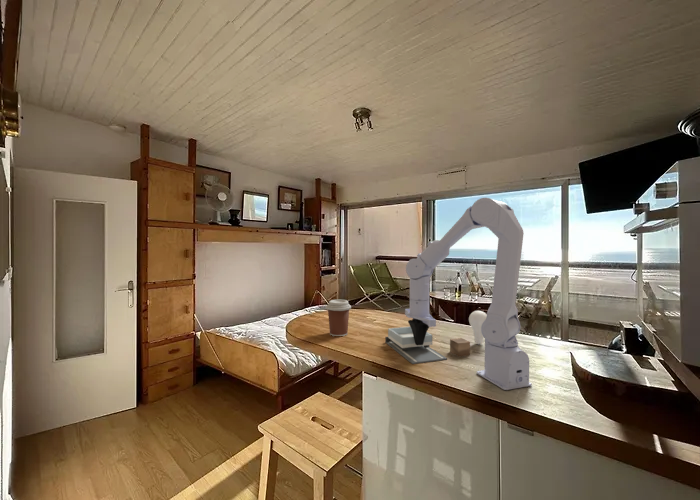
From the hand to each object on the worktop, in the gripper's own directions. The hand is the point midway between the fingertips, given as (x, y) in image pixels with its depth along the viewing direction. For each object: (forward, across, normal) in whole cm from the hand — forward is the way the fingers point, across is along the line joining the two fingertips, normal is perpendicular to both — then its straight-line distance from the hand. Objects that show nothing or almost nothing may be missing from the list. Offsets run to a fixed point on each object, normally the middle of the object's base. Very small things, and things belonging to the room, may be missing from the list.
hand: (419, 344), depth 90 cm
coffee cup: (+3, -26, -18) cm, 32 cm away
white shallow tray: (+3, -6, 0) cm, 7 cm away
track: (+3, -3, 0) cm, 4 cm away
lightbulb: (+3, -2, +23) cm, 23 cm away
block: (+3, +3, +12) cm, 13 cm away
